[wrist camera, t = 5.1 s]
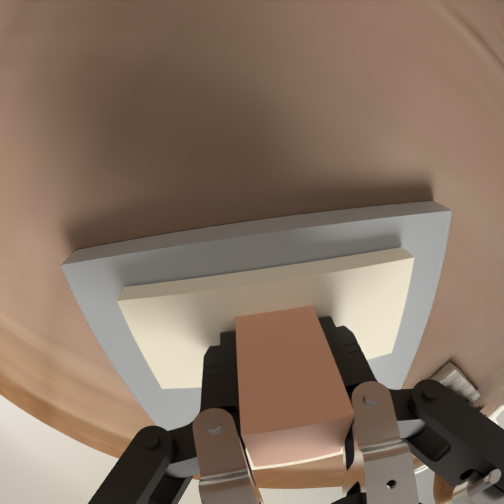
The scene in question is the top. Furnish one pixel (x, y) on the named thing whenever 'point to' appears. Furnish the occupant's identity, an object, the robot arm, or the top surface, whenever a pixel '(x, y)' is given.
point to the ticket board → (246, 259)
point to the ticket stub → (275, 341)
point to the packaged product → (457, 383)
